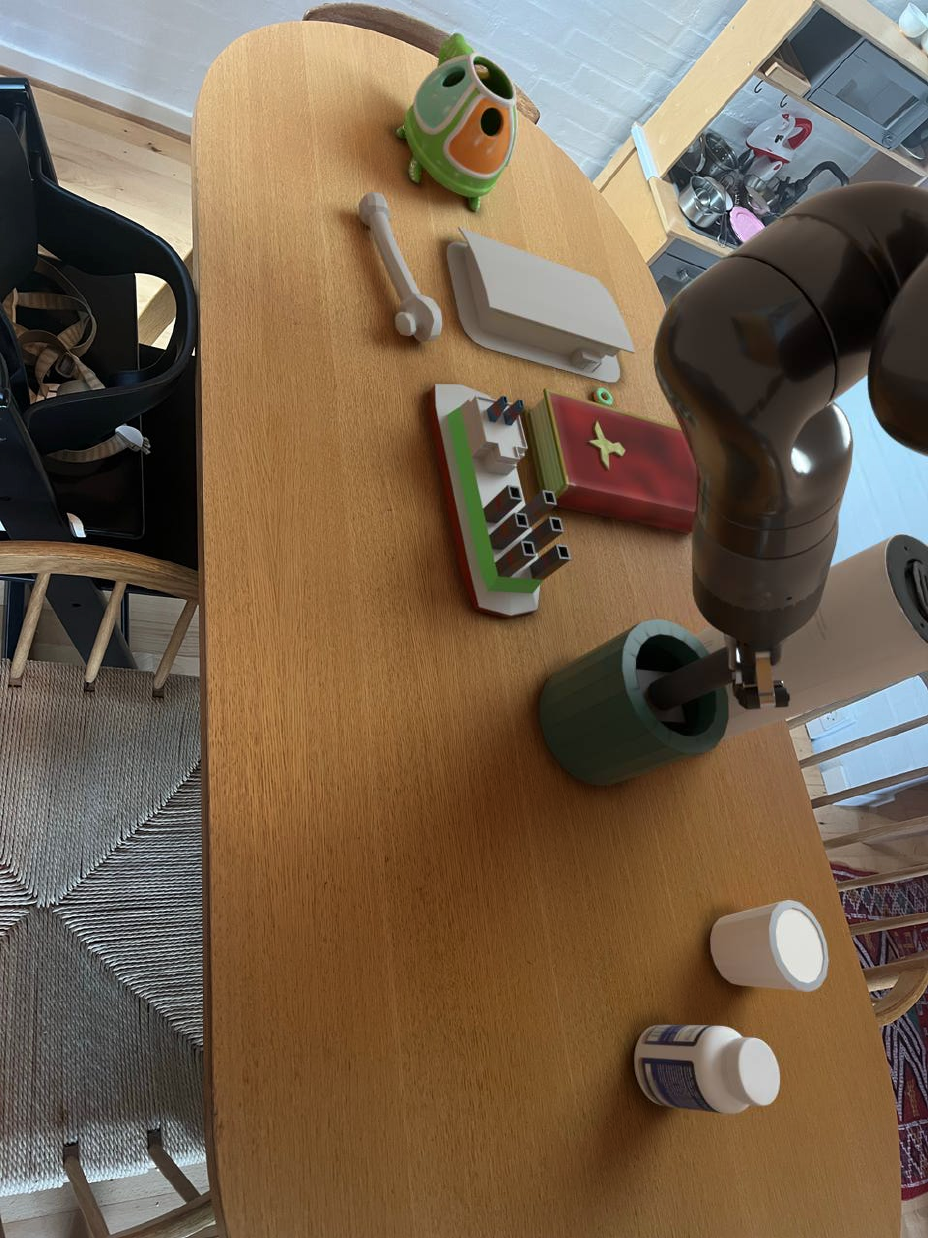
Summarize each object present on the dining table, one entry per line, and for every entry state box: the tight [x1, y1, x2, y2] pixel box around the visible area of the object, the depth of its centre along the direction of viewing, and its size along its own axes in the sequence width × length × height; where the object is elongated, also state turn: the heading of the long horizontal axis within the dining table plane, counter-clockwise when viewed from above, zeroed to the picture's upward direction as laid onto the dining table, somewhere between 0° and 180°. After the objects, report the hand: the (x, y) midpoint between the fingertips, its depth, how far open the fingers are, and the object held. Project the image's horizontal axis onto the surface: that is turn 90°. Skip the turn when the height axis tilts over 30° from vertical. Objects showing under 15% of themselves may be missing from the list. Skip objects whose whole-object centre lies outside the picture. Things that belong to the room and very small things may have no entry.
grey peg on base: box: [636, 646, 733, 729], centre depth 60 cm, size 4×4×14 cm
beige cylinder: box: [693, 532, 928, 742], centre depth 67 cm, size 11×10×26 cm
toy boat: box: [428, 383, 572, 619], centre depth 71 cm, size 8×25×8 cm, turn 12°
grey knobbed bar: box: [358, 191, 443, 343], centre depth 78 cm, size 18×5×4 cm, turn 17°
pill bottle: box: [633, 1024, 781, 1115], centre depth 55 cm, size 5×5×10 cm
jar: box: [539, 618, 729, 787], centre depth 65 cm, size 11×11×11 cm
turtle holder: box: [396, 32, 519, 212], centre depth 89 cm, size 12×18×12 cm
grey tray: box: [446, 226, 636, 384], centre depth 89 cm, size 15×23×4 cm, turn 101°
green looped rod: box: [592, 387, 614, 407], centre depth 91 cm, size 2×10×1 cm, turn 79°
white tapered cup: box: [709, 899, 830, 993], centre depth 65 cm, size 7×7×7 cm
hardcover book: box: [523, 387, 696, 534], centre depth 84 cm, size 12×21×4 cm, turn 99°
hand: (744, 672), depth 59 cm, fingers closed on grey peg on base, 2 cm apart
